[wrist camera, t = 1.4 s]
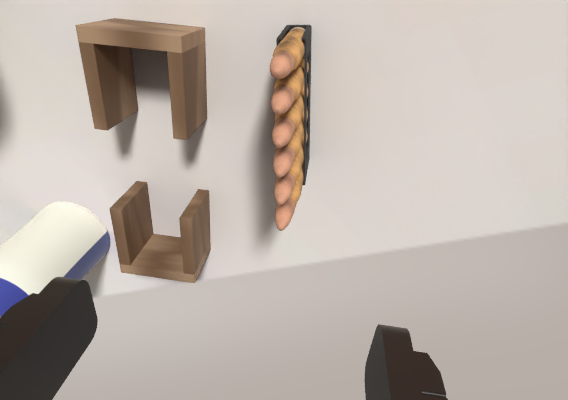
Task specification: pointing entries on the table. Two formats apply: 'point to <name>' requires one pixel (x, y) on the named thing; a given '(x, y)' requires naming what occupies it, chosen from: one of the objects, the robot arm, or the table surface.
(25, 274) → the water bottle
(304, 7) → the table surface
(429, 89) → the table surface
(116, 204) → the end cap
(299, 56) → the ammunition clip
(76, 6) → the table surface
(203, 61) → the end cap
